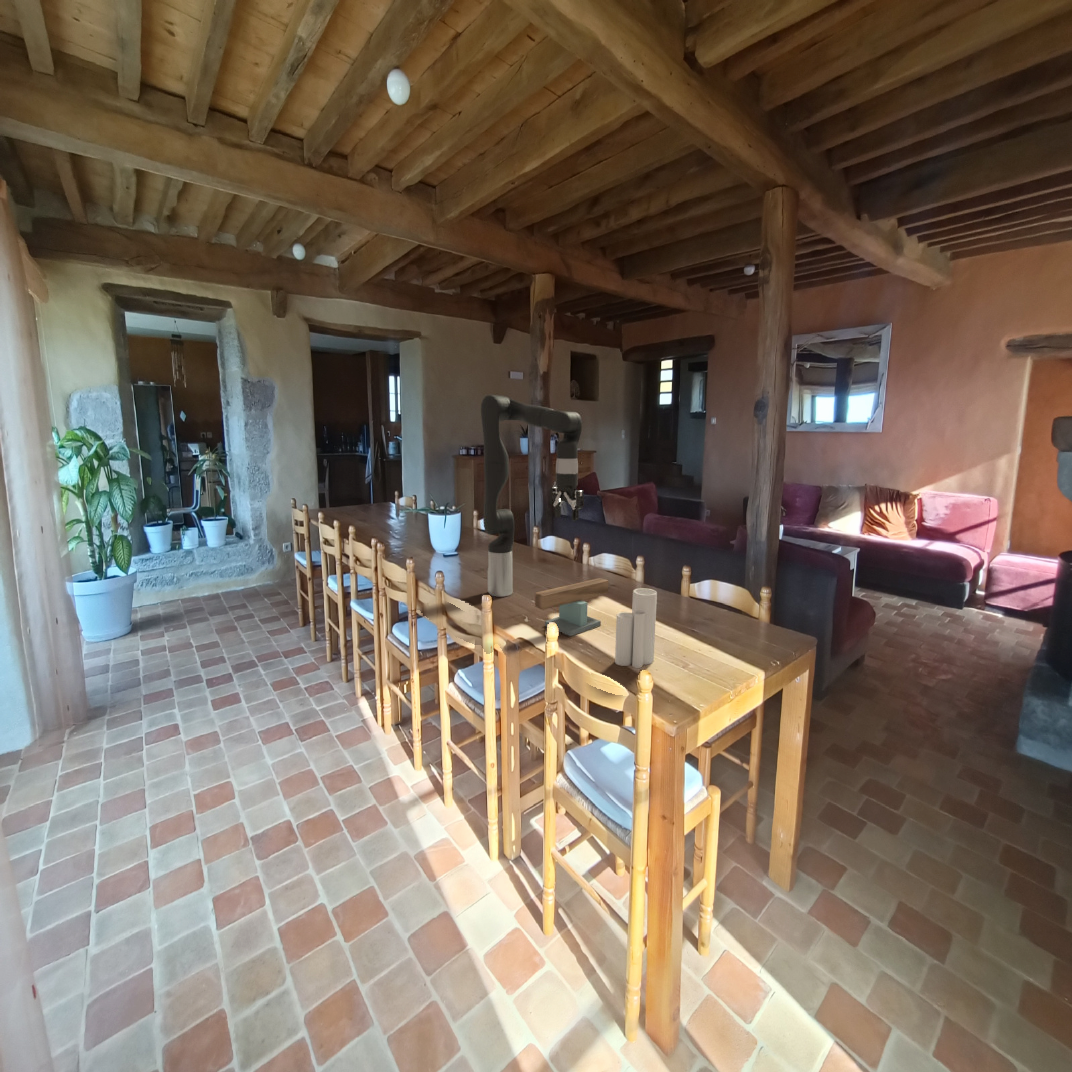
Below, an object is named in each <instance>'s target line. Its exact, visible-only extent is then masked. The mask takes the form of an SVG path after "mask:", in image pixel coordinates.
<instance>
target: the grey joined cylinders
mask: <svg viewBox="0 0 1072 1072" xmlns="http://www.w3.org/2000/svg"><path fill="white" fill-rule="evenodd" d="M657 597H658V592H657V591H656V590H654V589H653V588H652V589H651V588H644V587H642V588H635V589H633V590H632V609H631V612H627V611H626V612H625V611H624V612H623V611H622V612H618V613H616V621H615V623H616V624H615V625H616V626H615V627H616V628H615V654H614V655H615V657H614V660H615V661H614V663H615V664H616V665H618V666H623V667H624V666H625V667H627V666H632V667H633V668H635V669H639V668H643V665H644V666H645V665H651V664H653V663H654V657H655V655H654V654H655V640H656V639H655V638H656V637H655V635H656V620H657V619H656V618H657V601H658V600H657V599H658V598H657Z"/></svg>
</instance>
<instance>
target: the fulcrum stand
mask: <svg viewBox="0 0 1072 1072" xmlns="http://www.w3.org/2000/svg"><path fill="white" fill-rule="evenodd" d="M588 605H589V603H588V602H586V601H584V600H580V601H576V602H572V603H568V604H564V605H560V606H558V613H559V614H558V616H557V617H554V618H551V619H547V620H545V621H544V626H545V627H547V624H549V622H555V623H556V624H557V626H558V628H559V631H558V633H561V632H562V633H561V634H564V635H566V636H569V637H573V636H576V635H579V634H581V633H584V632H587V631H590V630H593V629H595V627H596V628H599V627H601V622H602V621H601V620H600V619H596V618H593V617H590V616H588ZM592 628H593V629H592ZM586 630H587V631H586Z"/></svg>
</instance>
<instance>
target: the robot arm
mask: <svg viewBox="0 0 1072 1072" xmlns="http://www.w3.org/2000/svg"><path fill="white" fill-rule="evenodd" d="M480 403H481V404H480V418H481V425H482V436H483V437H482V438H483V457H484V459H483V470H484V472H483V473H484V502H483V518H482V520H483V527H484V531H485V533H486V534H487V535H490V536H491V535H498V536H497V537H496V538H495V539H494V540H492V541H491V542H489V543H488V548H487V549H488V553H487V554H488V568H487V592H488V594H489V595H490V596H491V597H498V598H499V597H501V598H502V597H509V596H511V595H513V592H514V591H513V585H514V584H513V583H514V582H513V581H514V580H513V546H514V542H515V541H514V539H515V518H514V513H513V512H512V511H511V510H510V509H509V508H503V509H501V508H499V509H498V500H499V497H500V494H501V492H502V490H503V488H504V487H505V485H506V483H507V481H508V478H509V476H510V462H509V461H510V458H509V455H508V452H507V449H506V447H505V445H504V443H503V441H502V438H501V435H500V422H504V421H520V422H522V423H525V424H527V425H528V426H529V425H530V426H533V427H537V428H542V429H547V430H550V431H552V432H555V433H558V434H563V437H562V439H561V440H560V441H558V442H557V444H556V463H555V485H556V486H552V487H550V492H549V494H550V497H549V504H550V505H553V507H554V518H560V517H562V511H561V509H562V507H561V505H562V504H563V503H564V502H566V503H568V504H569V505H570V506H571V520H572V522H573V521H574V522H575V521H578V520H579V517H580V513H579V512H580V509H584V507H585V505H584V503H585V500H584V490H583V489H581V490H577V486H578V485H579V462H578V460H579V459H578V453H579V452H578V448H579V447H578V445H579V444H580V438H581V435H582V430H583V429H582V428H583V421H582V420H583V419H582V417H581V415H580V414H579V413H578V412H576V411H565V410H564V411H562V410H555V409H553V408H550V407H546V406H540V405H533V404H527V403H522V402H519V401H516V400H515V399H512V398H510V397H508V396H505V395H498V394H497V395H496V394H495V395H494V394H488V395H487V394H486V396H484V397H483V399H482V401H481V402H480Z"/></svg>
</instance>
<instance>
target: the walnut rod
mask: <svg viewBox="0 0 1072 1072" xmlns="http://www.w3.org/2000/svg"><path fill="white" fill-rule="evenodd" d="M606 594H609V580H608V579H605V578H602V577H598V578H594V579H589V580H585V581H581V582H577V583H572V584H568V585H563V586H559V587H555V588H551V589H546V590H541V591H537V592H534V607H535V608H537V609H539V610H541V611H544V610H548V609H553V608H557V607H559V606H560V605H564V604H568V603H572V602H576V601H580V600H582V601H584V600H587V599H591V598H595V597H599V596H603V595H606Z"/></svg>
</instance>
